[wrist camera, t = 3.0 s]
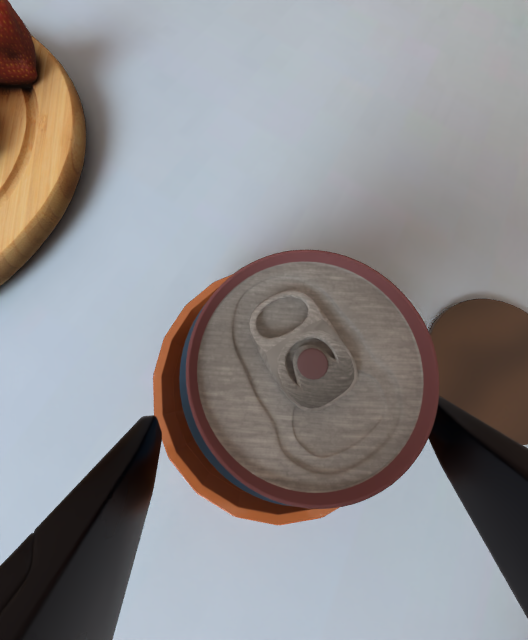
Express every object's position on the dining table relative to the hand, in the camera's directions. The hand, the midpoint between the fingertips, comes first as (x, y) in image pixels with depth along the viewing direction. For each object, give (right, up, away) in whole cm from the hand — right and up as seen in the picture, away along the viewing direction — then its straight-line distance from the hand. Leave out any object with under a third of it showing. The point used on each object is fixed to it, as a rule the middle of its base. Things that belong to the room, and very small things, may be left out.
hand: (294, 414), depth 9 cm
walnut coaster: (+15, 0, +10) cm, 18 cm away
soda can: (0, -1, +9) cm, 9 cm away
